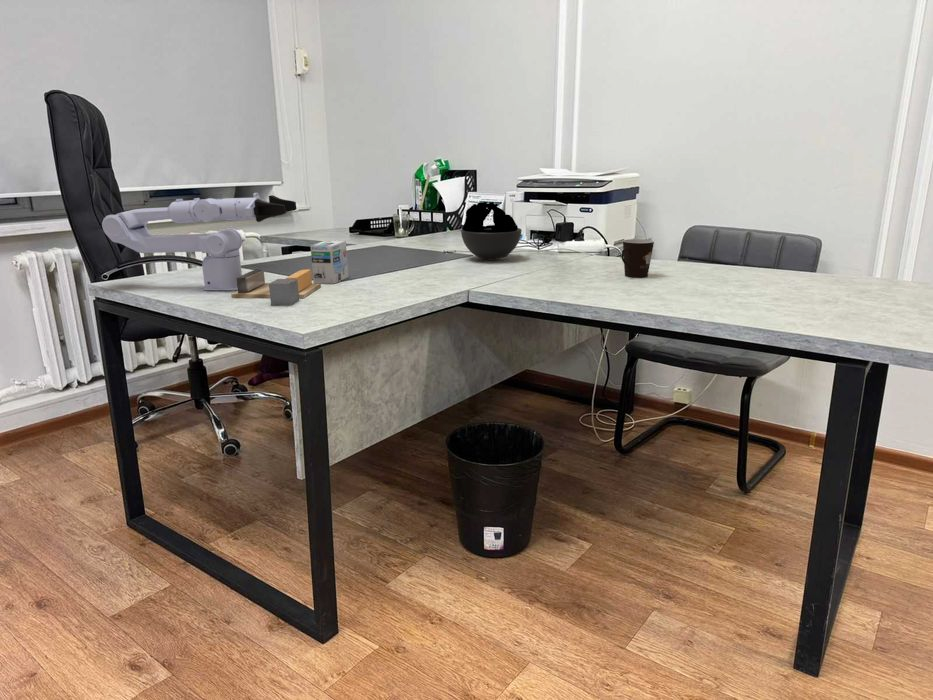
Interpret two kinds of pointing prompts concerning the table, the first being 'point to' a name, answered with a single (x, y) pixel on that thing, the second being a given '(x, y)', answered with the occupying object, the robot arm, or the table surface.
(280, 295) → the steel block
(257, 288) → the vise
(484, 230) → the coal bowl
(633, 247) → the coffee mug
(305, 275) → the block
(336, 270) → the light bulb box
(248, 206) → the robot arm
